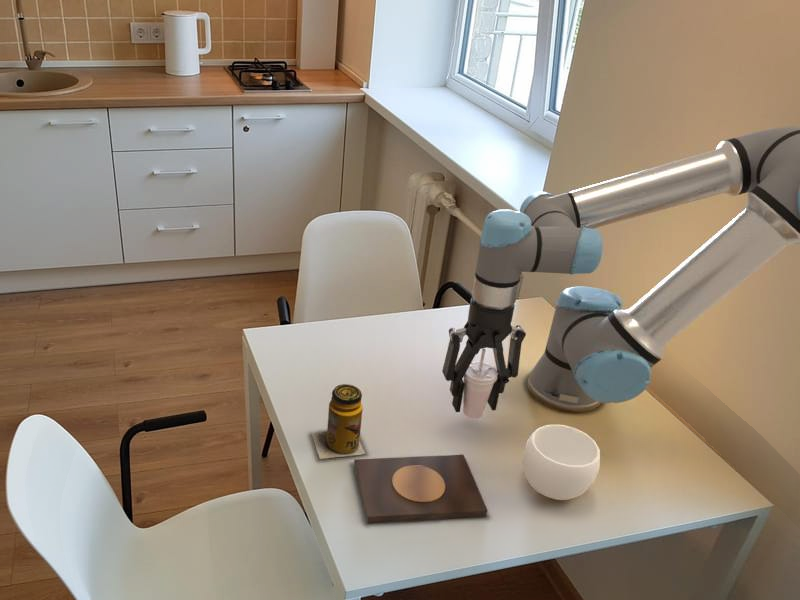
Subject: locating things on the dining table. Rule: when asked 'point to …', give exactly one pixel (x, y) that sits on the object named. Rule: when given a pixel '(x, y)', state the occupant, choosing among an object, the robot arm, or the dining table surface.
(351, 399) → the condiment
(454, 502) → the board
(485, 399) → the smoothie
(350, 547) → the dining table surface
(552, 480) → the cup
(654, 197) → the robot arm
